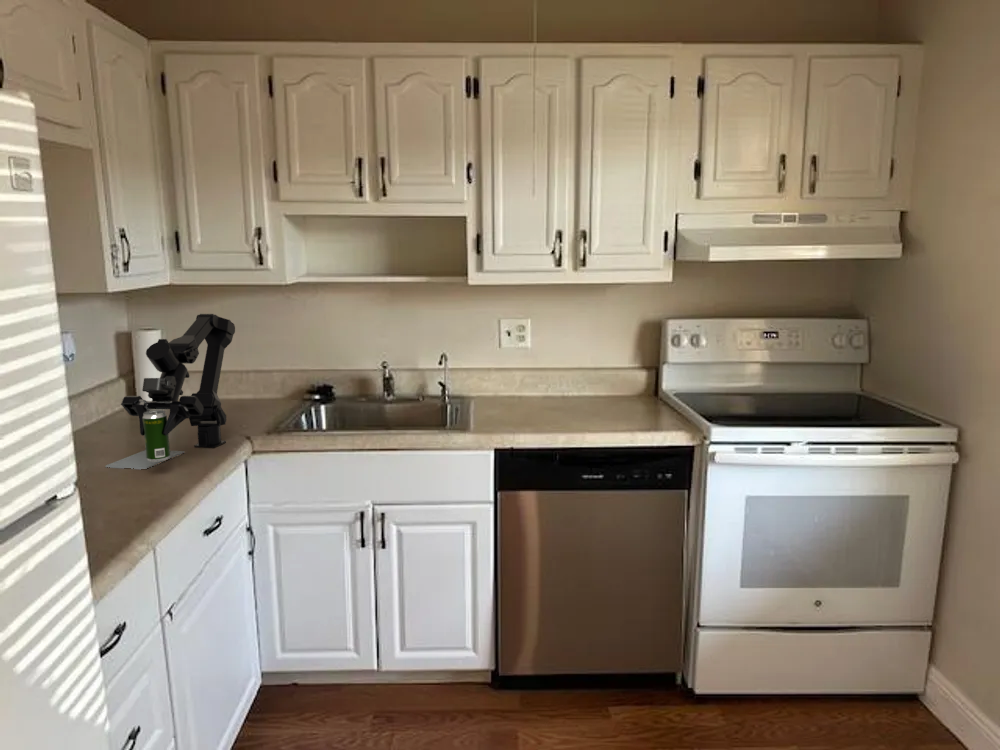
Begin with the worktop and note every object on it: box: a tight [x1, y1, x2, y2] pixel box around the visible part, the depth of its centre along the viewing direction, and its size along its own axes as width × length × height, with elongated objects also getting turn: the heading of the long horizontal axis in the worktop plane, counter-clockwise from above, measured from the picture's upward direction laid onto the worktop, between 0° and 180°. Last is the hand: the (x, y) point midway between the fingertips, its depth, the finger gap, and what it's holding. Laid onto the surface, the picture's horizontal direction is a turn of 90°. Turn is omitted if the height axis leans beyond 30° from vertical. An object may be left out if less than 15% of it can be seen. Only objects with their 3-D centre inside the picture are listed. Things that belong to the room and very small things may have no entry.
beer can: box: [143, 409, 171, 462], centre depth 173 cm, size 5×5×12 cm
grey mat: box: [105, 449, 186, 470], centre depth 189 cm, size 16×12×1 cm
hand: (153, 434), depth 172 cm, fingers closed on beer can, 5 cm apart
